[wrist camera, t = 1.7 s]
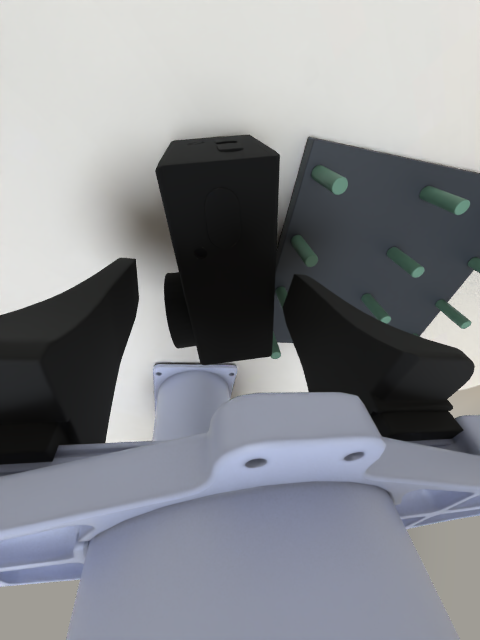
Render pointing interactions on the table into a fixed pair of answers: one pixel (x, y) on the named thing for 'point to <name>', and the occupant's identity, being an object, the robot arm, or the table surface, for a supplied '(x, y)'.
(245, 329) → the digital camera
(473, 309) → the table surface
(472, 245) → the rack
